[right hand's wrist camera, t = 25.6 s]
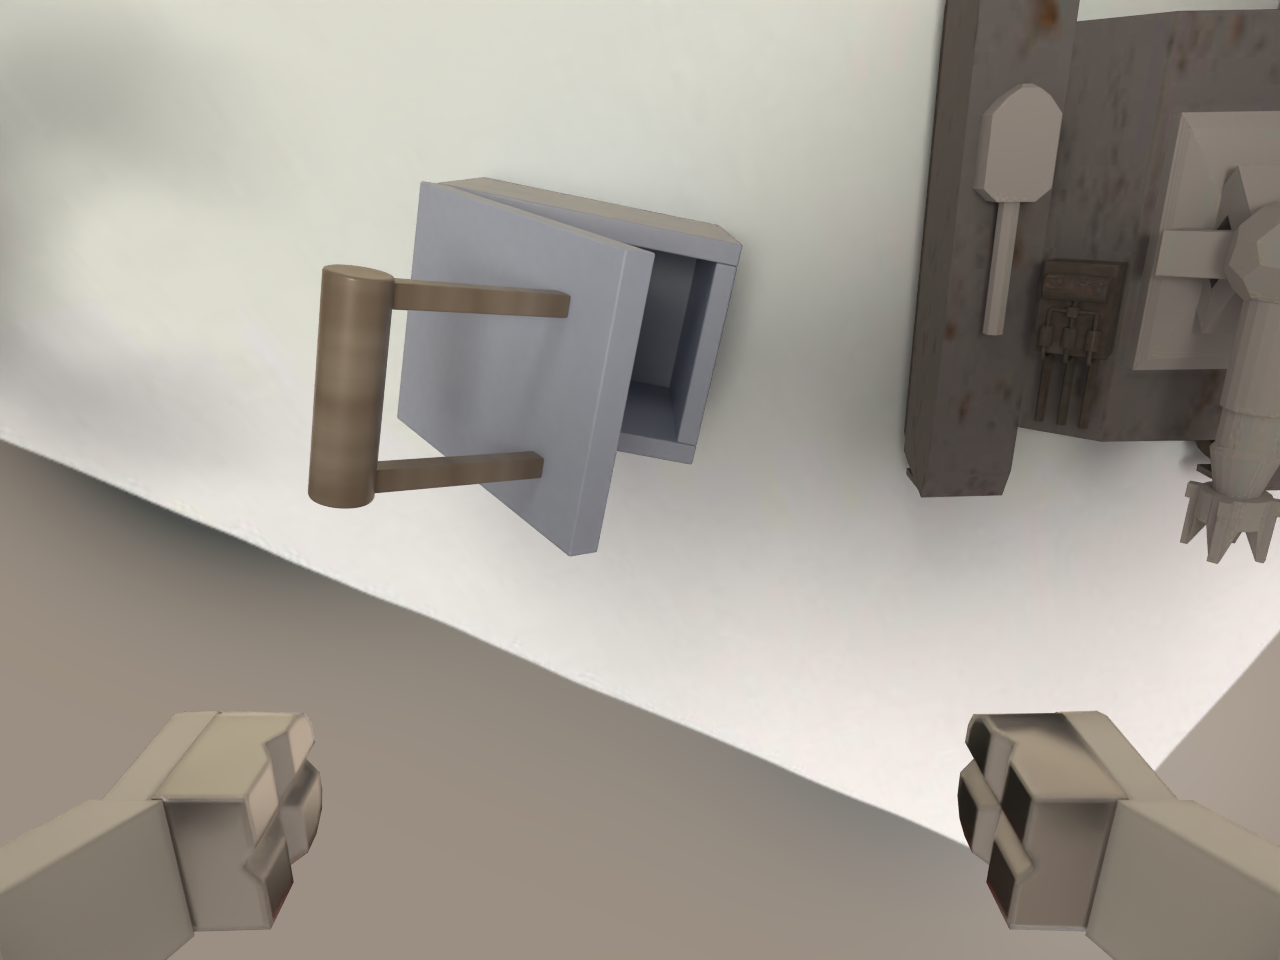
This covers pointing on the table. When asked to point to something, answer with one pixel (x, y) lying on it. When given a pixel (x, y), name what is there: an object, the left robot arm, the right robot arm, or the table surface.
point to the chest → (654, 309)
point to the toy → (1103, 250)
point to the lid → (484, 364)
